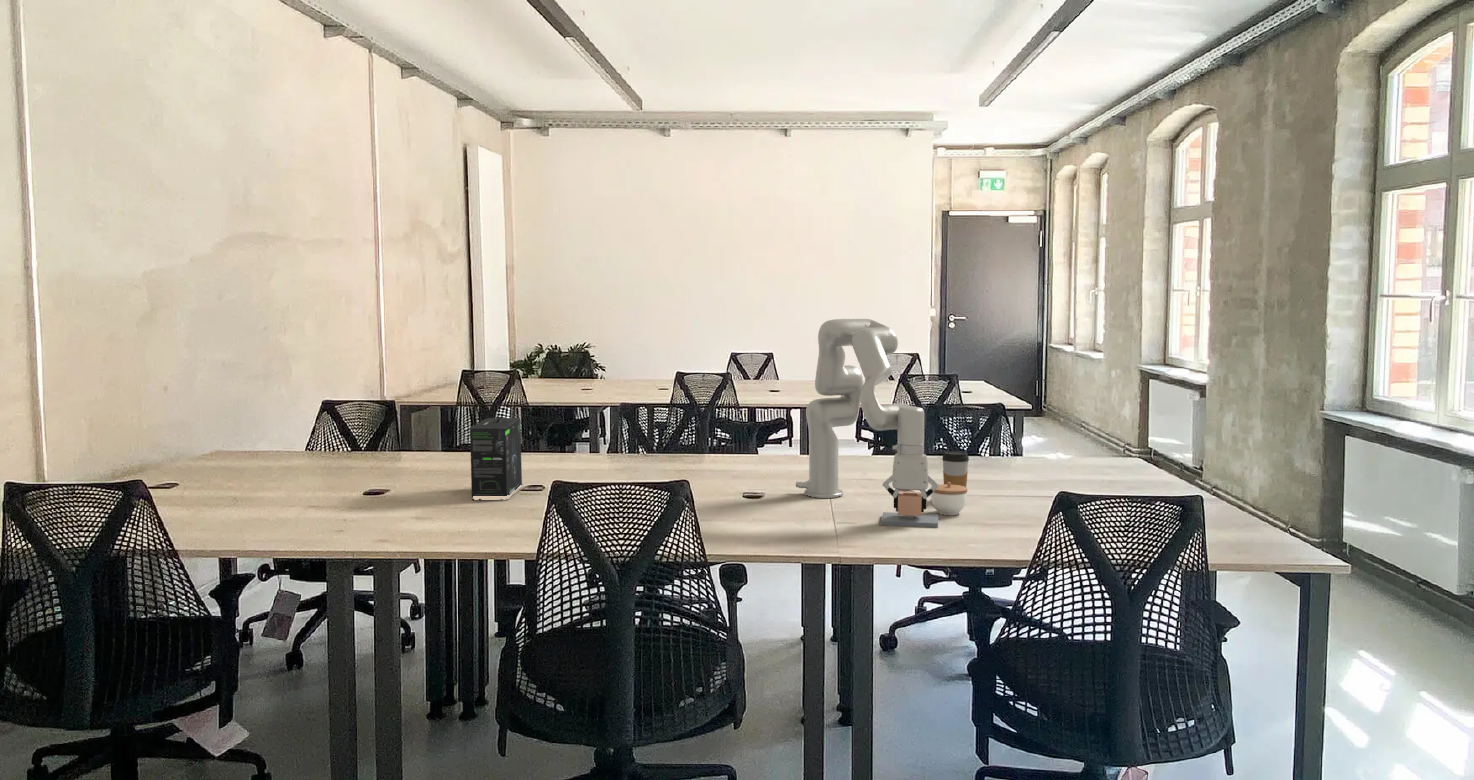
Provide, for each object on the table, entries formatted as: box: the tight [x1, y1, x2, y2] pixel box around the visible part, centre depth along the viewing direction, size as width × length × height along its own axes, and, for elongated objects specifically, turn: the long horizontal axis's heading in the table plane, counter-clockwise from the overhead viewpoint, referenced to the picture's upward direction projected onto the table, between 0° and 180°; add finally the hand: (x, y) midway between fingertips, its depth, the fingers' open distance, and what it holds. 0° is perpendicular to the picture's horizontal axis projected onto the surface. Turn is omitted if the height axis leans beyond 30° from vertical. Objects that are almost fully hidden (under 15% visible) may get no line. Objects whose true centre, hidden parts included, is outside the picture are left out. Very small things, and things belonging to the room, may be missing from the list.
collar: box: [897, 491, 923, 516], centre depth 304 cm, size 7×7×6 cm
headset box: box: [469, 415, 523, 497], centre depth 347 cm, size 22×12×26 cm, turn 179°
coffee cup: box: [941, 450, 970, 488], centre depth 336 cm, size 8×8×15 cm
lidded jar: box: [930, 482, 968, 516], centre depth 316 cm, size 11×11×9 cm
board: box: [880, 511, 939, 528], centre depth 305 cm, size 16×12×7 cm
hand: (909, 510), depth 305 cm, fingers closed on collar, 6 cm apart
